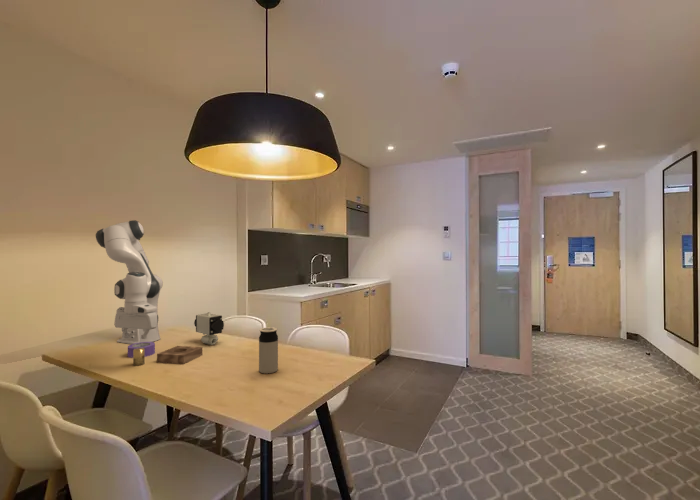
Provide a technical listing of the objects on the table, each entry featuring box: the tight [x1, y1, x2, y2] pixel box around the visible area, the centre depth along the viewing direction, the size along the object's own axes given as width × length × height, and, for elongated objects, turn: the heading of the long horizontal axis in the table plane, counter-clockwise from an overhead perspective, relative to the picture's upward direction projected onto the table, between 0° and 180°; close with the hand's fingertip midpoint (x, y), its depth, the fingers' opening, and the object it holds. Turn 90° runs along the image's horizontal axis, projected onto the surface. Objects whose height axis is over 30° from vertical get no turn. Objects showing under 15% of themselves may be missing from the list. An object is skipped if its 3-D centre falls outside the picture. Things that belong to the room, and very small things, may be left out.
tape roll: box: [127, 341, 156, 359], centre depth 170 cm, size 12×12×5 cm
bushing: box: [132, 348, 145, 367], centre depth 154 cm, size 4×4×7 cm
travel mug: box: [258, 326, 279, 375], centre depth 146 cm, size 8×8×18 cm
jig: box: [156, 345, 203, 365], centre depth 163 cm, size 14×14×4 cm
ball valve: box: [193, 311, 225, 346], centre depth 190 cm, size 18×8×18 cm, turn 56°
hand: (135, 338), depth 154 cm, fingers open, 8 cm apart
